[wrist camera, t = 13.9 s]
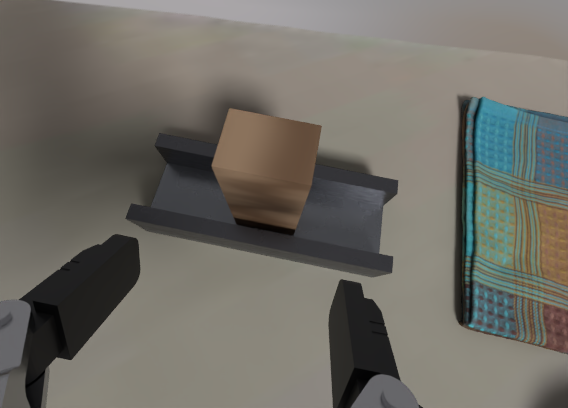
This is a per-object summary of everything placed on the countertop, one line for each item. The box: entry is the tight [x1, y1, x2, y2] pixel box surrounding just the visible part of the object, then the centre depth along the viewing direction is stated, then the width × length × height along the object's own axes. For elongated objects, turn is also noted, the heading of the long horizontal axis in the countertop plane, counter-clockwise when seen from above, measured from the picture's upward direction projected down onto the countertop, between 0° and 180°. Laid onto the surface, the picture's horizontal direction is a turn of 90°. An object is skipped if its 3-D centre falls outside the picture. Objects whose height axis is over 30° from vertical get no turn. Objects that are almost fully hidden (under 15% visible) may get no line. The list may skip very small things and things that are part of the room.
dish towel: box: [459, 97, 568, 354], centre depth 26 cm, size 17×23×2 cm
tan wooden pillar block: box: [212, 108, 322, 236], centre depth 20 cm, size 5×4×11 cm
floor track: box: [125, 133, 398, 277], centre depth 24 cm, size 20×8×4 cm, turn 79°
